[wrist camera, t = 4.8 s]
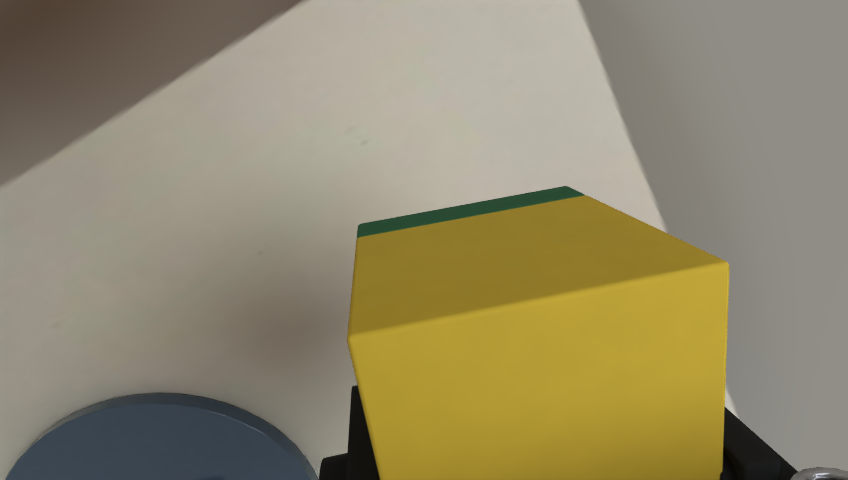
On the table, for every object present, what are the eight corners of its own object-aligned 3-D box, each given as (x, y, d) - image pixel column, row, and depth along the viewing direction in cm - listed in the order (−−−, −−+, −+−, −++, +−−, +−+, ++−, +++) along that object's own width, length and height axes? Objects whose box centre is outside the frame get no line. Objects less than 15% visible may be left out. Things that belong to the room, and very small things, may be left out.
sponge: (567, 184, 10) (732, 261, 6) (590, 506, 13) (715, 740, 8) (356, 223, 10) (345, 337, 5) (425, 542, 13) (457, 804, 8)
